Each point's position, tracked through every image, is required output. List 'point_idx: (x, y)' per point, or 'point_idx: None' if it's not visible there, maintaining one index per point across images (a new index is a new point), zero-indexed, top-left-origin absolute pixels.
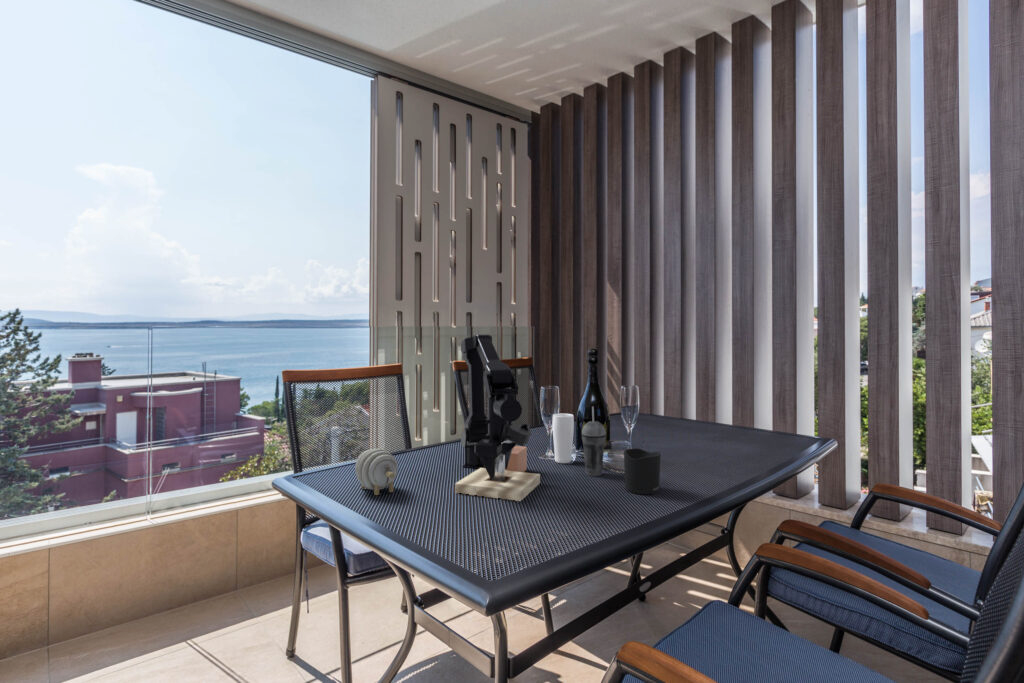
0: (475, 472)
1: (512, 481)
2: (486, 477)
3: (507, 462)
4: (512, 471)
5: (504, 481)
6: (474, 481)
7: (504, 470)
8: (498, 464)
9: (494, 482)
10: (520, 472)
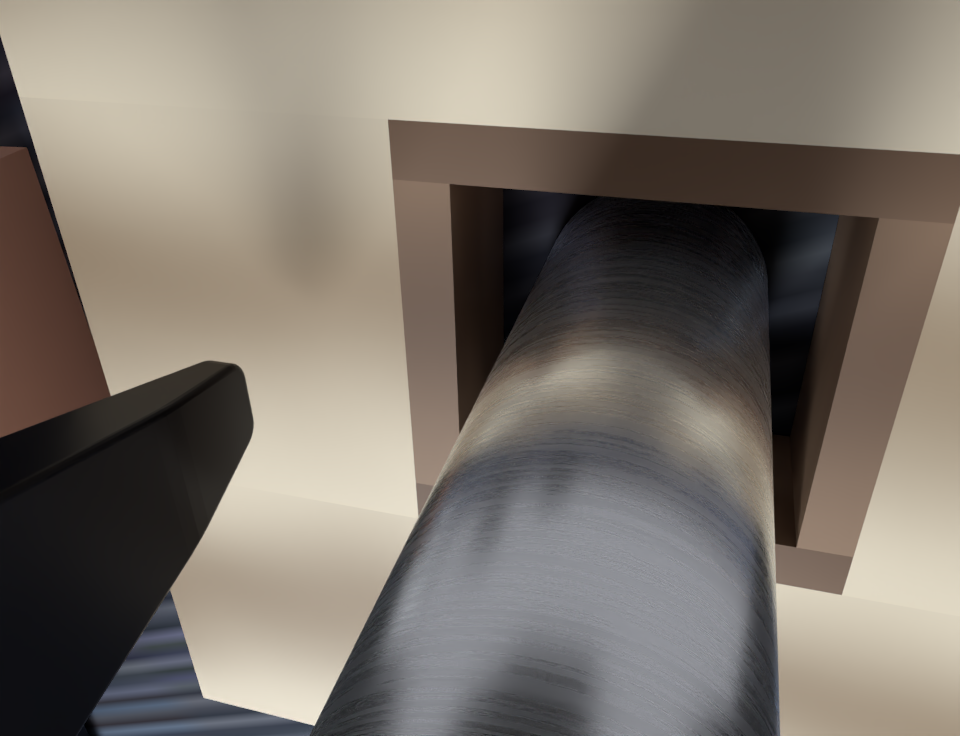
0: None
1: (785, 3)
2: None
3: (146, 432)
4: (84, 245)
5: (827, 210)
6: (931, 717)
7: (613, 365)
8: (773, 647)
9: (956, 402)
10: (40, 62)
